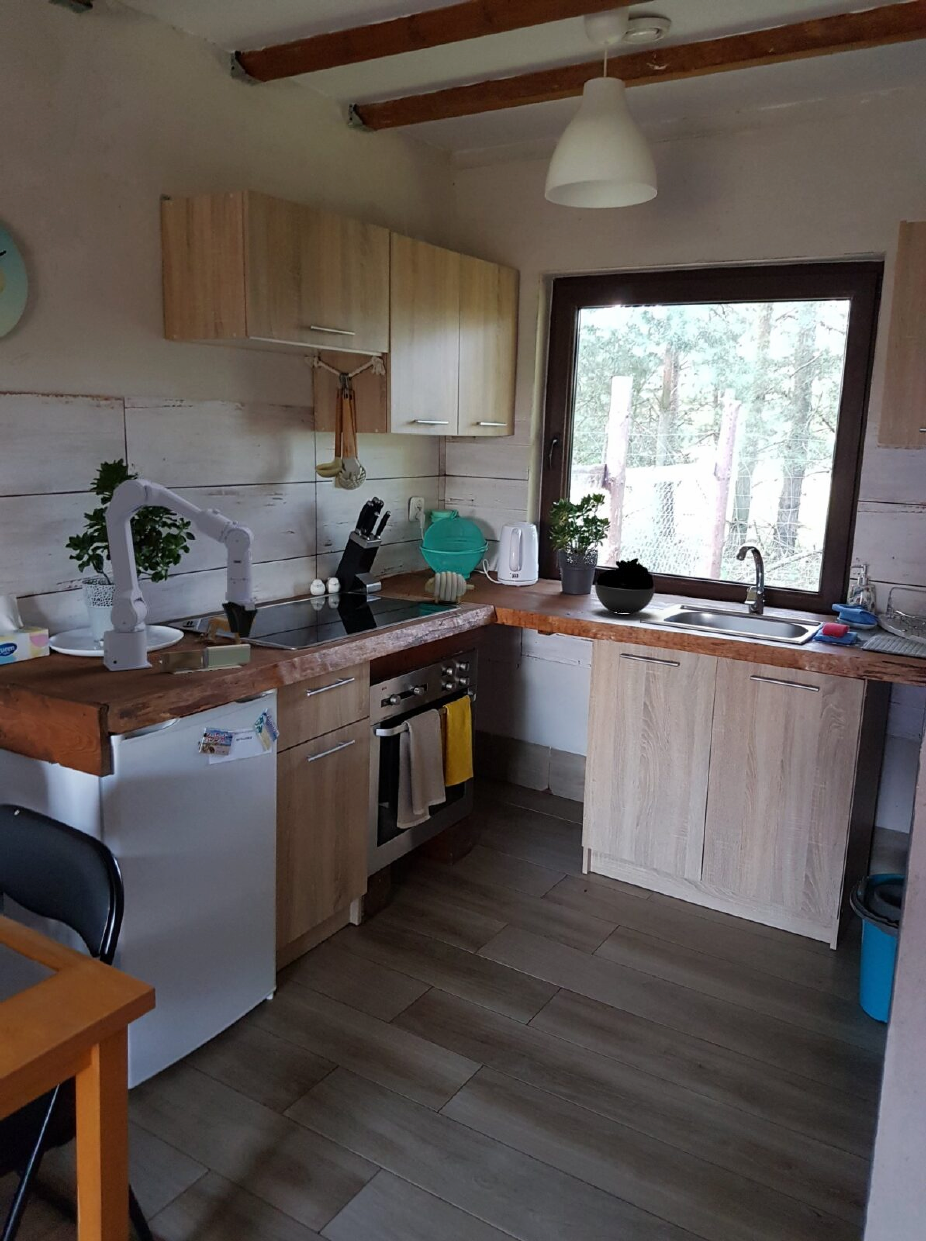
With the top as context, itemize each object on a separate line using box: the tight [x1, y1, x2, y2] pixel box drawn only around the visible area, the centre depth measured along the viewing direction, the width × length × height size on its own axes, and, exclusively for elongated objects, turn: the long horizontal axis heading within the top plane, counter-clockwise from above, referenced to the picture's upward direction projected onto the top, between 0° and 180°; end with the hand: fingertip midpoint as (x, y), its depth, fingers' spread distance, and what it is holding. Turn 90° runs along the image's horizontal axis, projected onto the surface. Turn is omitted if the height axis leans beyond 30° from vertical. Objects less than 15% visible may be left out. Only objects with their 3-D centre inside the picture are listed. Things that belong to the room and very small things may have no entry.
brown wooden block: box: [161, 649, 202, 674], centre depth 221 cm, size 9×4×4 cm, turn 123°
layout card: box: [159, 660, 243, 675], centre depth 228 cm, size 16×13×1 cm
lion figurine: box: [199, 616, 256, 645], centre depth 252 cm, size 15×5×9 cm, turn 93°
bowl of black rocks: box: [594, 557, 656, 614], centre depth 318 cm, size 20×20×19 cm
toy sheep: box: [424, 570, 475, 603], centre depth 325 cm, size 11×17×11 cm, turn 98°
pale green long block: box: [201, 643, 251, 667], centre depth 227 cm, size 12×2×4 cm, turn 123°
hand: (239, 635), depth 223 cm, fingers open, 5 cm apart
